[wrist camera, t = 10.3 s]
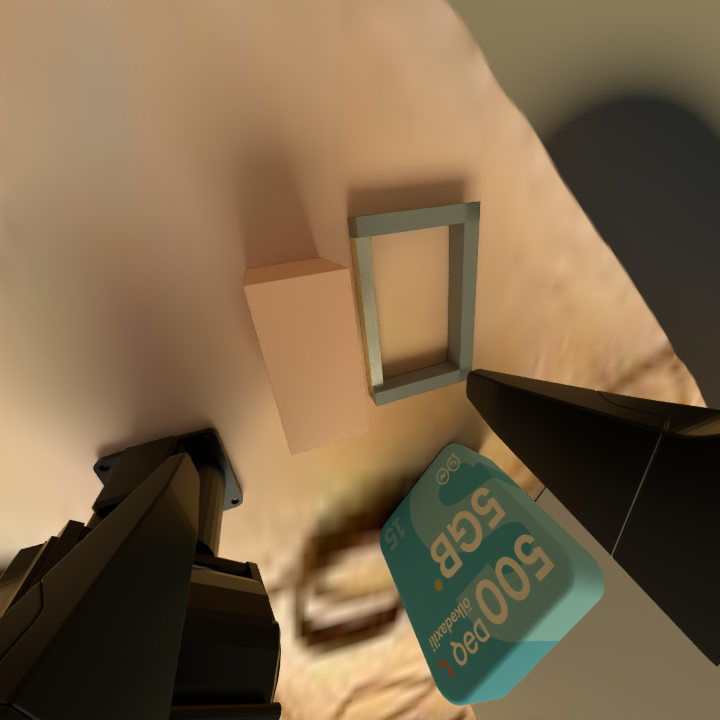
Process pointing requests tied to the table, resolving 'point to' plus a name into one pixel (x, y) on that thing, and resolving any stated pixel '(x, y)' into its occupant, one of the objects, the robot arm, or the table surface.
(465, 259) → the grey rectangular frame
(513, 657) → the data package
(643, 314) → the table surface
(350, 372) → the tall beige box
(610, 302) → the table surface
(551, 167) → the table surface
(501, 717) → the game console
